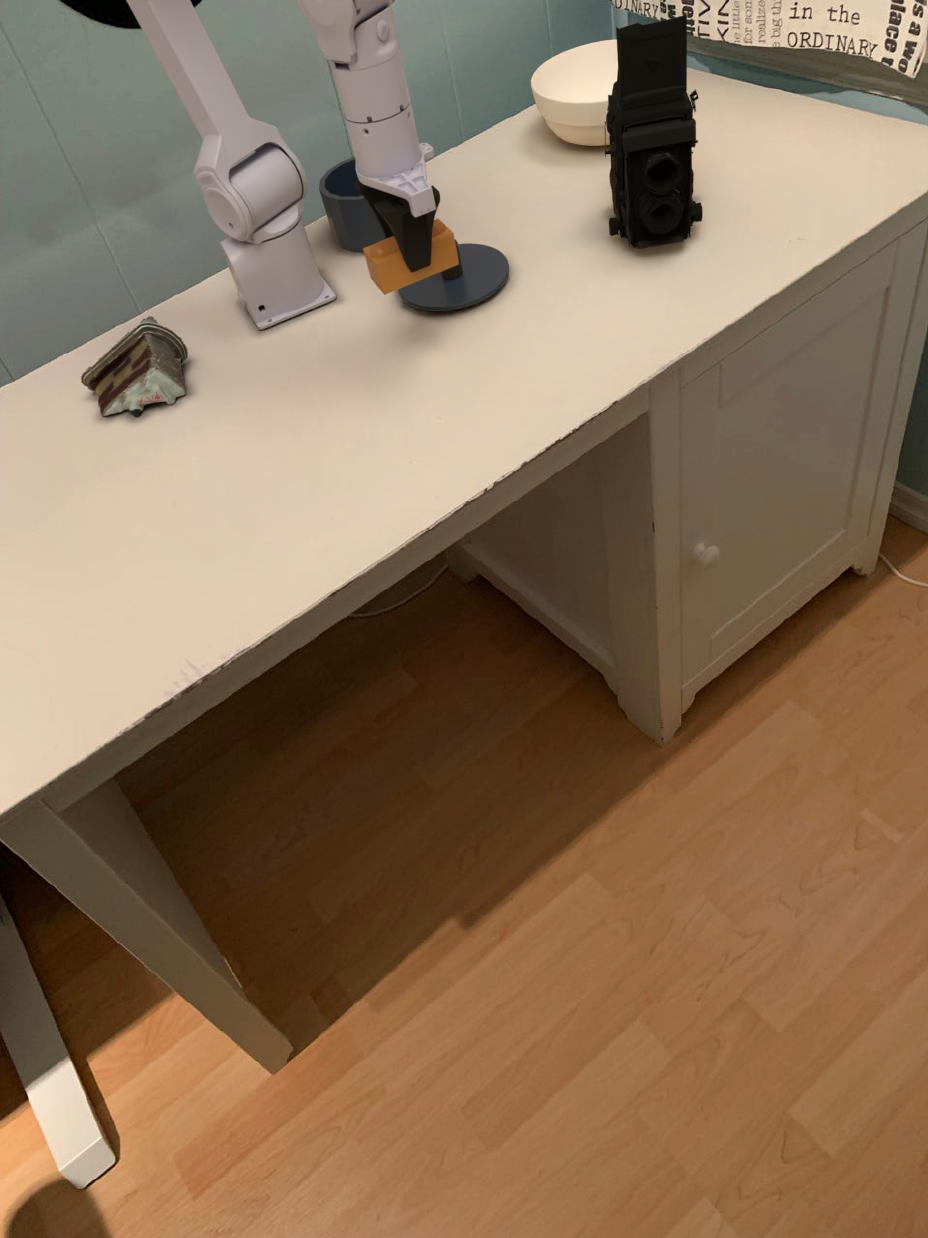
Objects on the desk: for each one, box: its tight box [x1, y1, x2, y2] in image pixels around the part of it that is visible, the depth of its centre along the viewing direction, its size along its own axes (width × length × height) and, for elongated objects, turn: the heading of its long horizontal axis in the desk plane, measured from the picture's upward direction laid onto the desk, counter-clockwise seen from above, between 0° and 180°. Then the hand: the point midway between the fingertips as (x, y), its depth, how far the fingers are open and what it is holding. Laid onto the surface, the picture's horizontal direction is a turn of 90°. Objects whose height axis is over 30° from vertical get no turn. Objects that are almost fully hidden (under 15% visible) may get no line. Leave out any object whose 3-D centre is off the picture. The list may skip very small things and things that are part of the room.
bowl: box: [530, 38, 618, 147], centre depth 111 cm, size 18×18×7 cm
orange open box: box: [363, 217, 459, 296], centre depth 83 cm, size 8×4×4 cm, turn 115°
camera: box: [604, 14, 703, 250], centre depth 89 cm, size 10×14×20 cm
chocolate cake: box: [80, 315, 189, 417], centre depth 93 cm, size 10×7×12 cm
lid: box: [397, 239, 510, 312], centre depth 95 cm, size 12×12×5 cm
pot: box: [318, 156, 386, 253], centre depth 106 cm, size 11×11×6 cm
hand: (411, 258), depth 84 cm, fingers closed on orange open box, 3 cm apart
